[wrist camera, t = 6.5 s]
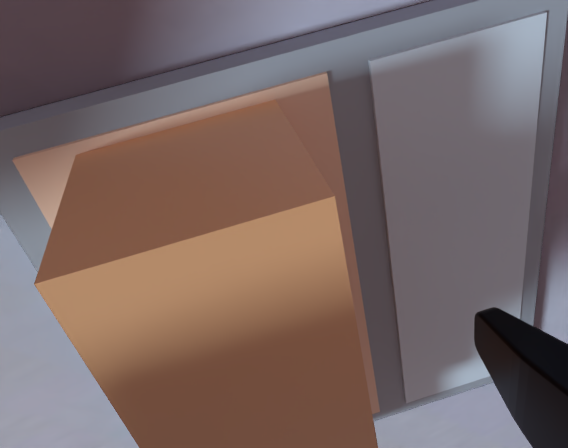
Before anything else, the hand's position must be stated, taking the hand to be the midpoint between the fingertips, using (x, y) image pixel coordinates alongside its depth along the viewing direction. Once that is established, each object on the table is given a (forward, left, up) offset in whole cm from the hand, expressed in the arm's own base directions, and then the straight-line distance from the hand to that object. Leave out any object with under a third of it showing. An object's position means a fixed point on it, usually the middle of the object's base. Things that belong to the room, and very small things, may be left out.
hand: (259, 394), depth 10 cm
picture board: (-2, 0, -3) cm, 4 cm away
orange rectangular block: (0, 0, -2) cm, 2 cm away
